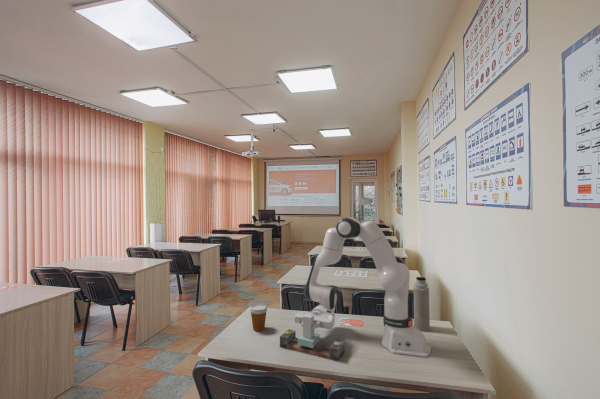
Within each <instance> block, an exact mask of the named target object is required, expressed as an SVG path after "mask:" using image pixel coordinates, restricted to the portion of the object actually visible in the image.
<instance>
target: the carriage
mask: <svg viewBox="0 0 600 399" xmlns="http://www.w3.org/2000/svg"><path fill="white" fill-rule="evenodd" d="M313 324H314V315H312V314H305V315H304V316H303V327H302V334H300V336H298V337H297V338H298V345H301V346H305V347H310V348H314V347H315V345H316V344H317V343H320V341H321V340H320V334H317V333H315V329H312V325H313Z"/></svg>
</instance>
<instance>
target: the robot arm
mask: <svg viewBox="0 0 600 399" xmlns="http://www.w3.org/2000/svg"><path fill="white" fill-rule="evenodd" d="M357 237H358V238H360V239H361V241H362V242H363V244H364V245H365V248H366V250H367V251H368V252H369V255H370V257H371V258H372V260H373V262H374V266H375V269H376V271H377V274H378V277H379V283H380V286H381V287H382V289H384V290H385V294H384V299H383V301H384V304H383V305H384V306H383V309H384V310H383V311H384V313H383V317H382V318H383V320H382V321H383V326H384V327H383V334H382V339H381V345H382V347H384V348H386V349H387V350H389V352H390V353H391V354H395V355H396V354H397V355H398V354H399V355H406V356H413V357H422V358H426V357H429V356H430V354H431V351H432V349H431V345H430V344H429V343H428V342H427V341H426V338H425V336H424V333H423V331H419V330H418V329H417V328H416V327H415V326H414V320H413V317H412V316H411V317H410V316H409V303H408V302H409V291H410V274H411V273H410V272H411V271H410V269H409V267H408V266H407V265H406V264H404V263H402V262H398V261H397V259H396V256H395V252H394V249H393V247H392V246H391V244H390V241H389V240H388V239H387V237H386V235H385V234H384V232H383V231H382V229H381V228H380V226H379V225H378V224H377V223H376V222H375V221H373V220H367V221H364V222H362V221H361V220H360V219H359V218H356V217H355V218H354V217H349V216H348V217H343V218H341V219H340V220H338V222H337V224H336V226H335V227H330V228H328V229H326V231H325V236H324V239H323V242H322V248H321V251H320V253H318V254H316V256H315V257H314V260H313V262H312V266H311V269H310V272H309V274H308V279H307V280H306V283H305V285H304V288H303V295H304V297H305V299H306V300H307V301H311V302H316V303H319V304H317V306H315V307H313V309H311V311H310V312H307V311H300V312H298V313H296V314H295V315H294V319H293V320H294V322H295V324H301V327H302V328H303V316H304V315H305V314H312V315H314V324H313V325H312V329H314V330H316V329H318V328H321V329H326V330H333V328H334V327H335V322H336V321H335V320H336V319H335V310H336V306H337V303H338V297H339V295H338V292H337V289H335V287H332V286H329V285H324V284H320V283H318V282H317V280H318V276H319V272H320V271H321V270H320V269H322V267H324V266H330V265H335V264H337V263H339V262H340V261H341V259H342V257H343V250H344V244H345V241H346V239H355V238H357Z"/></svg>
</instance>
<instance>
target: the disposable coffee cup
mask: <svg viewBox="0 0 600 399" xmlns="http://www.w3.org/2000/svg"><path fill="white" fill-rule="evenodd" d="M249 311H250V316H251V323H252V329H253V331H255V332H262V331H264V330H265V327H266V326H265V325H266V320H267V319H266V317H267V312H268V308H267V305H265V304H255V305H252V306H251V307H250V310H249Z"/></svg>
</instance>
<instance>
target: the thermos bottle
mask: <svg viewBox="0 0 600 399" xmlns="http://www.w3.org/2000/svg"><path fill="white" fill-rule="evenodd" d="M415 278H416V282H415V283H414V286H413V289H412V290H413V326H415V327H416V328H417V329H418V330H419V331H421V332H429V331H430V329H431V328H430V289H429V286H428V283H427V282H426V281H427V279H426V277H423V276H422V277H421V276H417V277H415Z"/></svg>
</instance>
